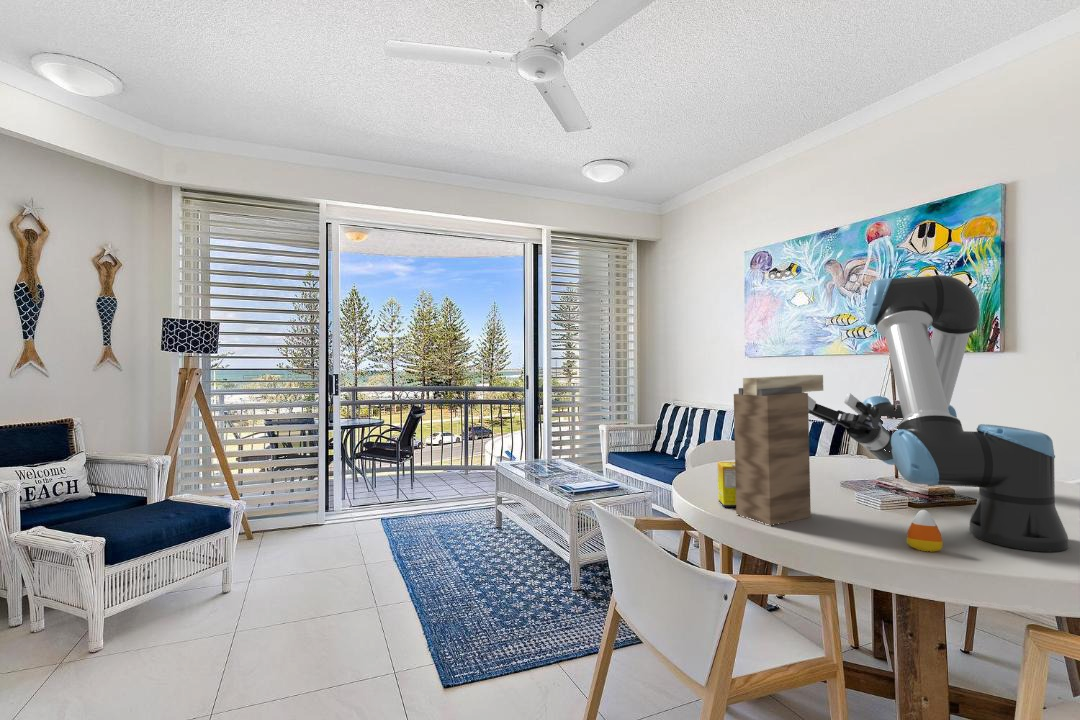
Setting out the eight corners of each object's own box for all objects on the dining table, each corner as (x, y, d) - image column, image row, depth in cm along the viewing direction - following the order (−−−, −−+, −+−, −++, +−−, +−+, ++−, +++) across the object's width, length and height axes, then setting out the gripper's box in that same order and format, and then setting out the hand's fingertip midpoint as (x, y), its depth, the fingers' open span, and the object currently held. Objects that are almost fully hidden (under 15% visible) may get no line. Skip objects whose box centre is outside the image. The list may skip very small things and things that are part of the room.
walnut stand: (810, 516, 127) (807, 386, 127) (770, 526, 120) (767, 389, 120) (775, 506, 136) (772, 385, 136) (736, 515, 129) (733, 387, 129)
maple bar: (823, 390, 134) (823, 374, 134) (756, 395, 123) (756, 378, 123) (809, 389, 137) (808, 374, 137) (743, 394, 127) (742, 378, 127)
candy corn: (941, 549, 104) (940, 509, 104) (945, 554, 102) (944, 513, 102) (905, 545, 107) (904, 506, 107) (907, 550, 104) (907, 510, 104)
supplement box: (740, 501, 141) (739, 461, 141) (747, 508, 135) (746, 466, 135) (717, 501, 142) (717, 461, 142) (723, 508, 136) (722, 466, 136)
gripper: (911, 450, 133) (865, 413, 125) (821, 438, 156) (777, 405, 148) (919, 424, 135) (874, 385, 127) (829, 415, 157) (786, 382, 149)
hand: (822, 396), depth 137 cm, fingers open, 13 cm apart
